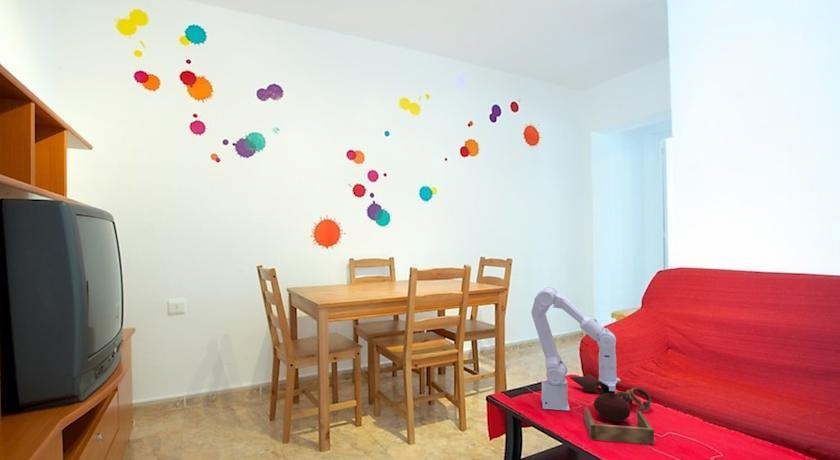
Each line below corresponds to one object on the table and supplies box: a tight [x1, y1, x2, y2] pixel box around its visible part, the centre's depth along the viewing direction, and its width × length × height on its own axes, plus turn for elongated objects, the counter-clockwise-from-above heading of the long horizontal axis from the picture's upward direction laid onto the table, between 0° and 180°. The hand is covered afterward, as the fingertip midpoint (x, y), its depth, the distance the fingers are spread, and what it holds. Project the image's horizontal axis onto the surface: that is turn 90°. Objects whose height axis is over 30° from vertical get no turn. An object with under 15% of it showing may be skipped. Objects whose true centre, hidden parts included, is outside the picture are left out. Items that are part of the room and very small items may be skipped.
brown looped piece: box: [615, 387, 652, 413], centre depth 159 cm, size 12×10×8 cm
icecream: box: [569, 374, 603, 395], centre depth 176 cm, size 7×7×15 cm
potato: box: [593, 393, 631, 422], centre depth 149 cm, size 9×12×9 cm
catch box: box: [583, 407, 655, 446], centre depth 140 cm, size 18×14×4 cm
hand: (608, 404), depth 154 cm, fingers closed
